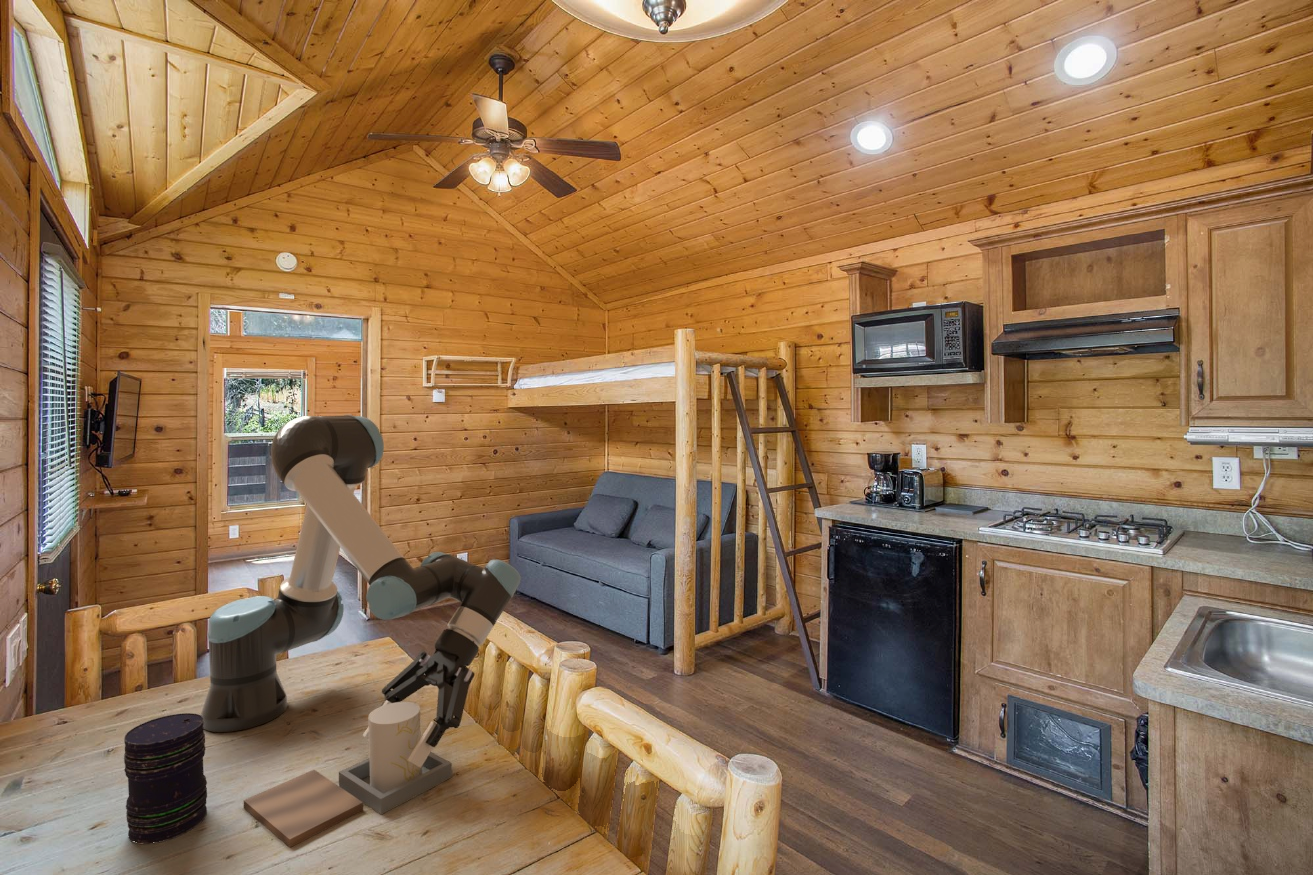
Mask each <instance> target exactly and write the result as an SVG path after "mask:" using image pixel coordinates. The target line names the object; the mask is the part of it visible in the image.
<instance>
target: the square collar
mask: <svg viewBox="0 0 1313 875" xmlns="http://www.w3.org/2000/svg"><path fill="white" fill-rule="evenodd" d="M422 767H424V768H425V769H427V770H428V771H425V772H424V773H422V774H421V775H419V776H417V777H416V778H414V779H412V780H410V781H408V782H406V783H404V784H402V785H400V786H398V787H396V788H394V789H392V790H390V791H388V792H386V793H384V794H383V793H381V792H380V791H378V790H376V789H375V788H373V787H372V786H370V783H367V782H365V781H364V780H362V779H365V778H368V777H370V762H369V758H366V759H363V760H362V761H359V762H357V763H355V764H352V765H351V766H349V767H346V768H344V769H342V770H340V771H338V786H339V787H341V788H342V789H344V790H345V791H347V792H348V793H350V794H351V795H353V796H354V797H356V798H357V799H359V800H360V801H362V802H363V805H366V806H367V807H369V808H370V809H371V810H373V811H374V812H377V813H378V814H379V815H383V814H385V813H387V812H389V811H391V810H393V809H394V808H396V807H399V806H400V805H402V804H404V803H406V802H408V801H410V800H411V799H413V798H415V797H417V796H419V795H422V794H423V793H425V792H426V791H428V790H430V789H432V788H434V787H436V786H438V785H440V784H442V783H444V782H445V781H447V780H449V779H451V778H452V777H453V763H452V761H449V760H447V759H445V758H443V757H442V756H440V755H438V754H436V753H434V752H432V751H431V752H430V753H429V755H428V757H427V758H426V760H425V762H424V763H423V765H422Z"/></svg>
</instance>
